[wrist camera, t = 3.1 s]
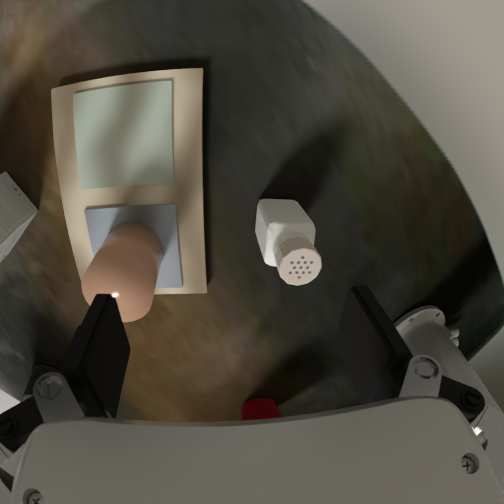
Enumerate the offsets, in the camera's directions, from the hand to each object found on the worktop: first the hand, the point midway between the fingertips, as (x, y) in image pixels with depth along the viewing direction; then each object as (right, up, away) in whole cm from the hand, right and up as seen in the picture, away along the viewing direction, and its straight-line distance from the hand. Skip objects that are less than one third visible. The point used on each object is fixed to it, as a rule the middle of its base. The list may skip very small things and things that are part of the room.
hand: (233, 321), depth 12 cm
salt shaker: (+3, +6, +18) cm, 20 cm away
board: (-11, +8, +15) cm, 20 cm away
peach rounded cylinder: (-11, +3, +16) cm, 20 cm away
